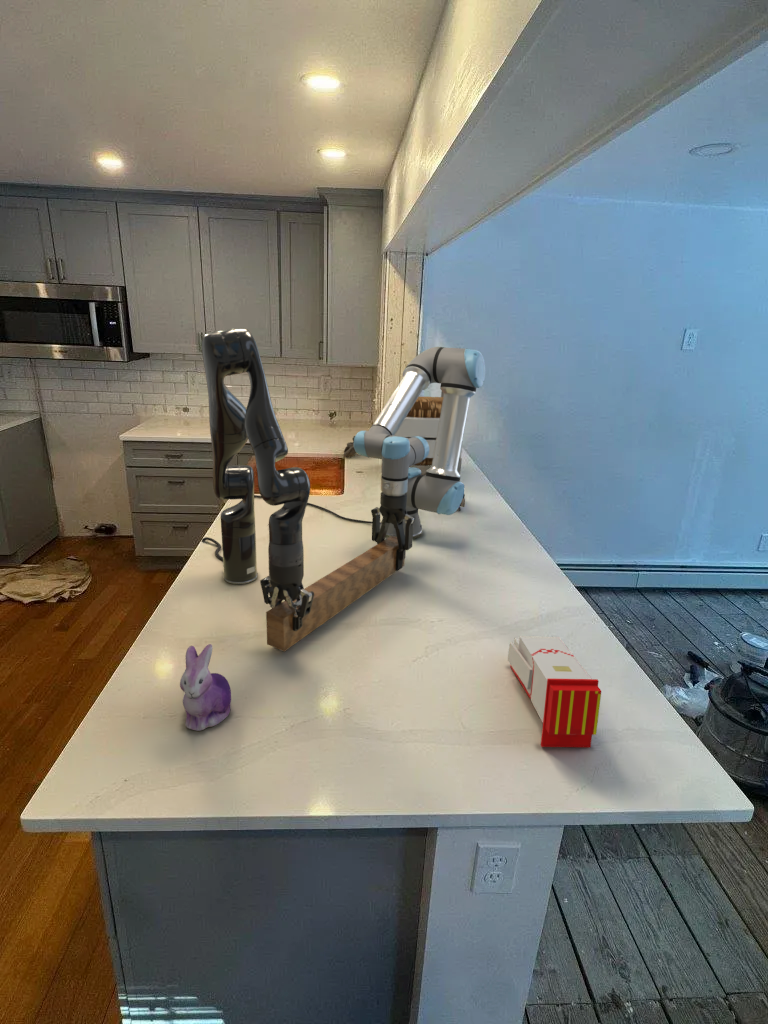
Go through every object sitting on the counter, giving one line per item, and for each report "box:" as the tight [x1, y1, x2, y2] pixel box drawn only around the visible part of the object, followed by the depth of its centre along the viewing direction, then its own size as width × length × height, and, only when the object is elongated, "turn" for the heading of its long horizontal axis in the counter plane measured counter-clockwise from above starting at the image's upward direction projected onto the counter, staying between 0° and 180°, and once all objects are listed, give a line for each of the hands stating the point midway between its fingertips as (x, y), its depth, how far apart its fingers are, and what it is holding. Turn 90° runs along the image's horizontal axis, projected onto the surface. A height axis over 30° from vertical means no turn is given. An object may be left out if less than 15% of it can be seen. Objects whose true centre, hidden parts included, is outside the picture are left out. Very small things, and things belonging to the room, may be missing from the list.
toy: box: [507, 635, 602, 748], centre depth 115 cm, size 12×13×30 cm
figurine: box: [179, 643, 232, 732], centre depth 106 cm, size 9×10×15 cm
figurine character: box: [457, 493, 466, 511], centre depth 229 cm, size 7×8×15 cm
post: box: [265, 536, 406, 652], centre depth 148 cm, size 55×5×8 cm, turn 149°
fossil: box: [343, 435, 357, 459], centre depth 304 cm, size 22×10×15 cm
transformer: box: [395, 391, 464, 476], centre depth 268 cm, size 34×33×41 cm
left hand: (287, 625), depth 129 cm, fingers closed on post, 5 cm apart
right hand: (390, 566), depth 168 cm, fingers closed on post, 5 cm apart
